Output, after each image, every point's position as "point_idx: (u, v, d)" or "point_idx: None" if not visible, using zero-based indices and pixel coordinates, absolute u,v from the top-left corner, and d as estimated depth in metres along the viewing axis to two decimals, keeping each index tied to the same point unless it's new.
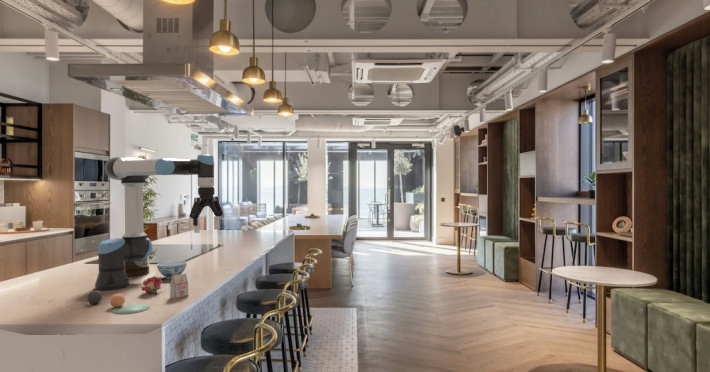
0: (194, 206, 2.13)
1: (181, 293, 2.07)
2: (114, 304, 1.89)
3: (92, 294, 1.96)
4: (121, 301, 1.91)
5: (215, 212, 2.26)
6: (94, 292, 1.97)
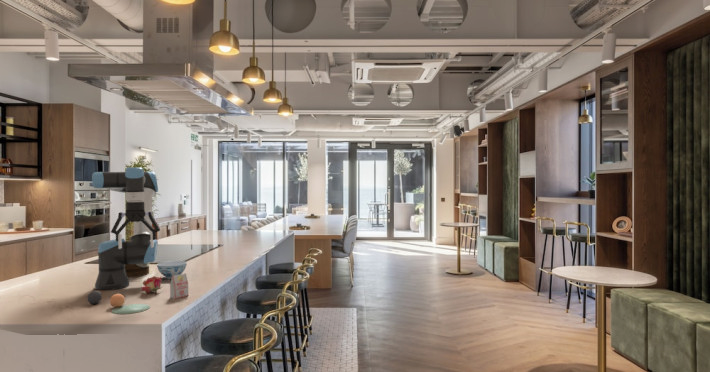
0: None
1: (181, 293, 2.07)
2: (114, 304, 1.89)
3: (92, 294, 1.96)
4: (121, 301, 1.91)
5: None
6: (94, 292, 1.97)
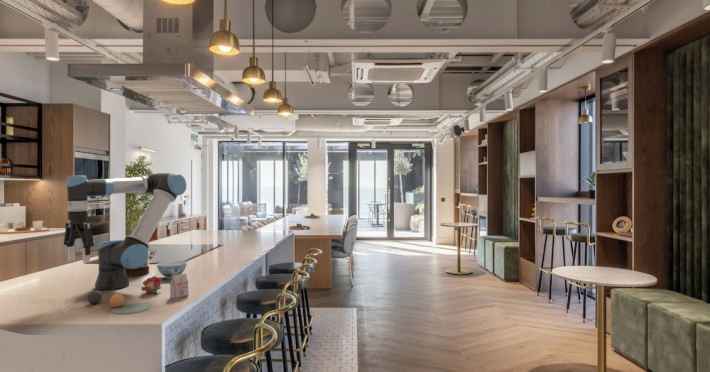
0: None
1: (181, 293, 2.07)
2: (114, 304, 1.89)
3: (92, 294, 1.96)
4: (121, 301, 1.91)
5: None
6: (94, 292, 1.97)
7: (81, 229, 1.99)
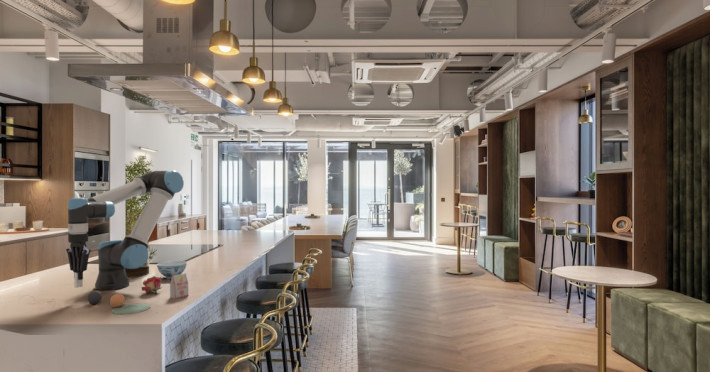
0: None
1: (181, 293, 2.07)
2: (114, 304, 1.89)
3: (92, 294, 1.96)
4: (121, 301, 1.91)
5: None
6: (94, 292, 1.97)
7: None
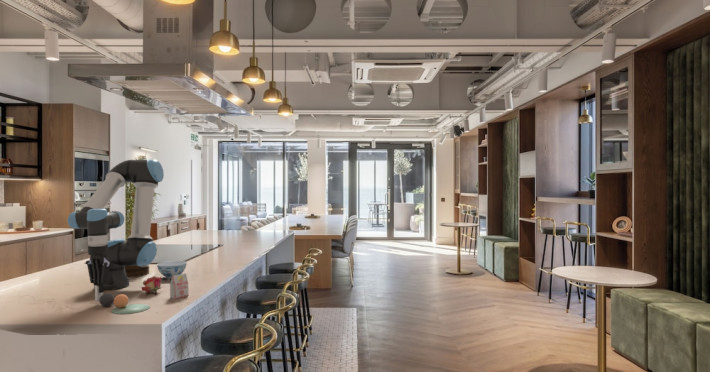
0: None
1: (181, 293, 2.07)
2: (116, 305, 1.89)
3: (102, 305, 1.92)
4: (123, 306, 1.90)
5: None
6: None
7: None
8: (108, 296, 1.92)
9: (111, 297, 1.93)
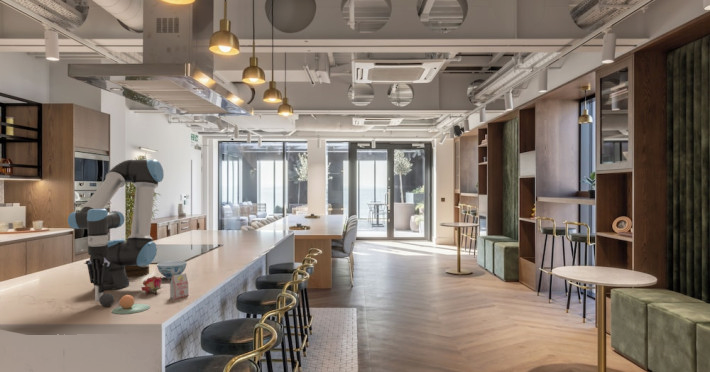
0: None
1: (181, 293, 2.07)
2: (120, 304, 1.88)
3: (102, 305, 1.92)
4: None
5: None
6: None
7: None
8: (108, 296, 1.92)
9: (111, 297, 1.93)
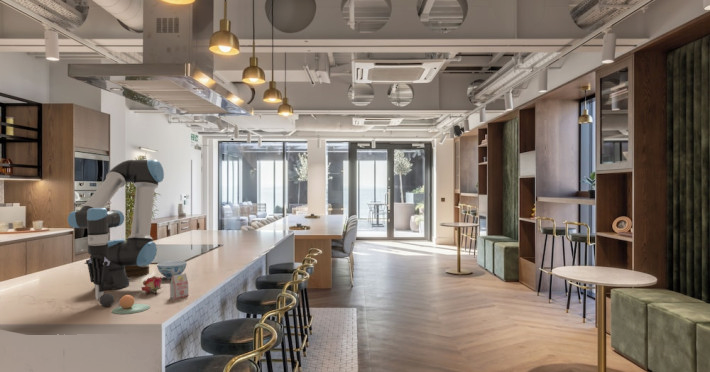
0: None
1: (181, 293, 2.07)
2: (120, 304, 1.88)
3: (102, 305, 1.92)
4: None
5: None
6: None
7: None
8: (108, 296, 1.92)
9: (111, 297, 1.93)
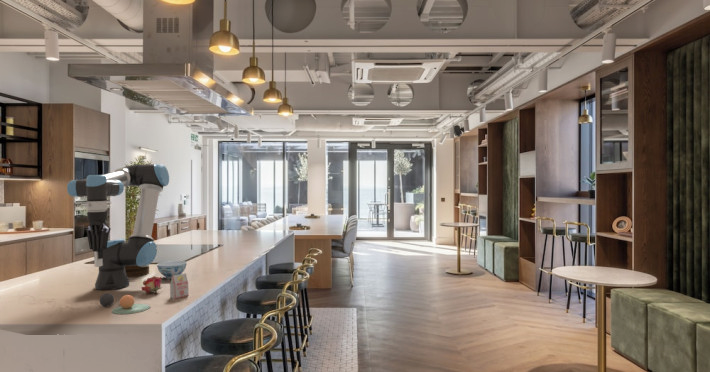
0: None
1: (181, 293, 2.07)
2: (120, 304, 1.88)
3: (102, 305, 1.92)
4: None
5: None
6: None
7: None
8: (108, 296, 1.92)
9: (111, 297, 1.93)
